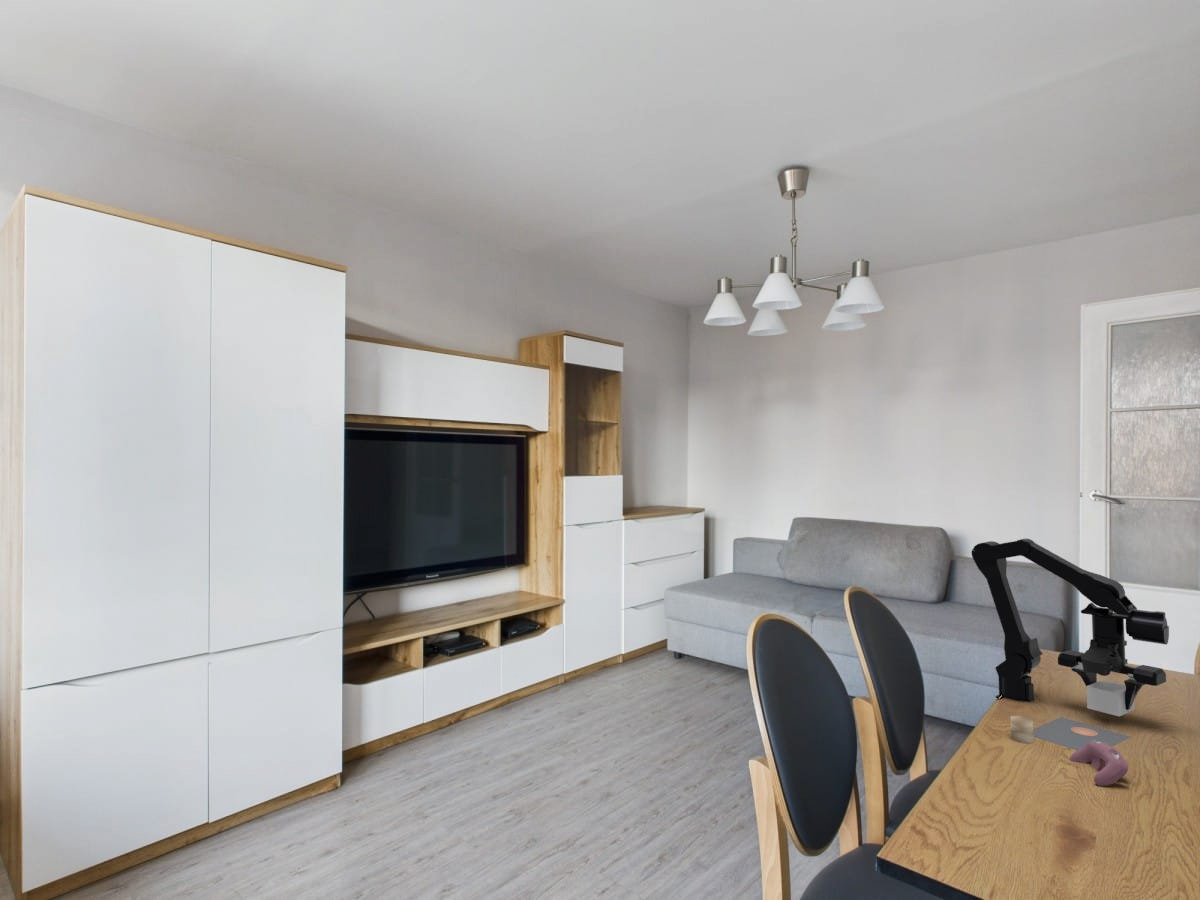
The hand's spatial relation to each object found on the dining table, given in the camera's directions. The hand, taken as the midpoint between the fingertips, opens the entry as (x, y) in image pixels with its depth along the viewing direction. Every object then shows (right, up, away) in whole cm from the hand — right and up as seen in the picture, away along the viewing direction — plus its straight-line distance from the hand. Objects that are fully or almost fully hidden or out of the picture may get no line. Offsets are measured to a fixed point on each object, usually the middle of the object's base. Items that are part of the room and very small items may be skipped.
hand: (1110, 705), depth 146 cm
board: (-14, -4, -9) cm, 17 cm away
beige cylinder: (-27, -4, -11) cm, 30 cm away
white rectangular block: (0, -1, 0) cm, 1 cm away
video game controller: (-22, -3, -26) cm, 34 cm away
